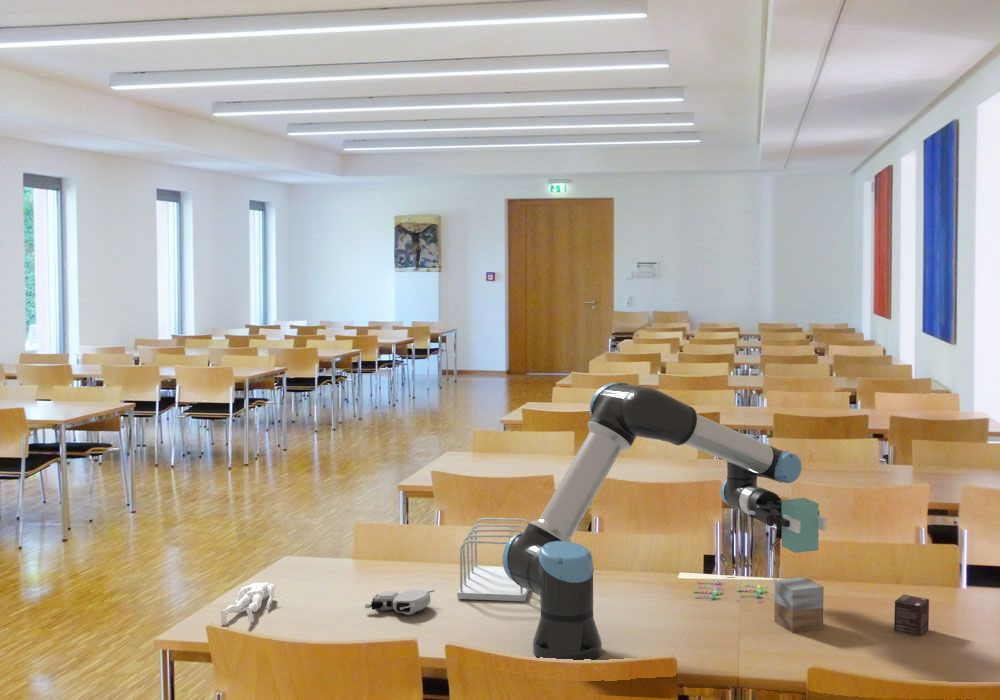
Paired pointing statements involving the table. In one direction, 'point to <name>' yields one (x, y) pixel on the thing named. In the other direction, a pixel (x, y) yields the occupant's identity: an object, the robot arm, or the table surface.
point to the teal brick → (809, 525)
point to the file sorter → (488, 569)
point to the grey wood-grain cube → (799, 604)
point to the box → (911, 615)
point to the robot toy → (401, 601)
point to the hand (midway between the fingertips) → (812, 525)
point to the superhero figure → (250, 600)
